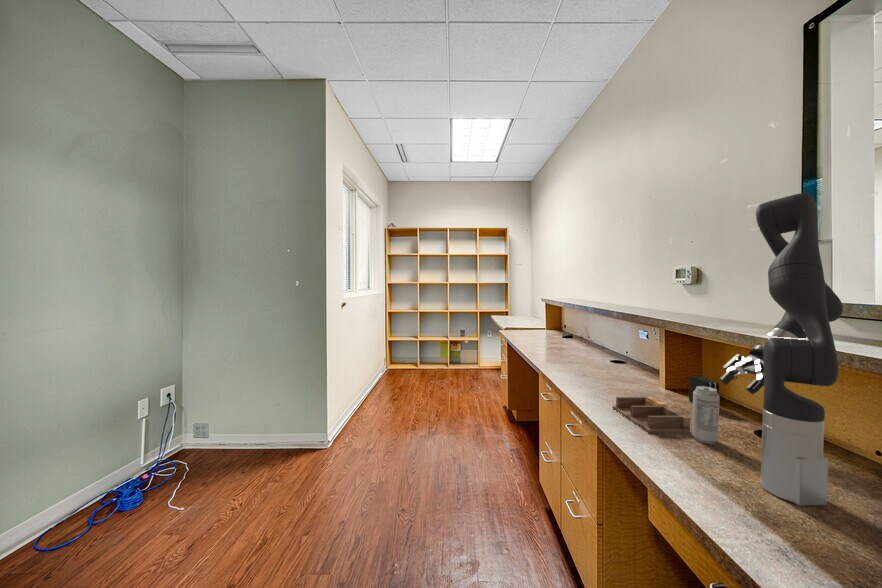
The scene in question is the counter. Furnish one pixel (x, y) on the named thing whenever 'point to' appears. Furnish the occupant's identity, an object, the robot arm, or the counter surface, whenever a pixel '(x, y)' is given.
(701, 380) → the electronic device
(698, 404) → the energy drink can
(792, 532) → the counter surface
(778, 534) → the counter surface
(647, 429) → the divided wooden tray
